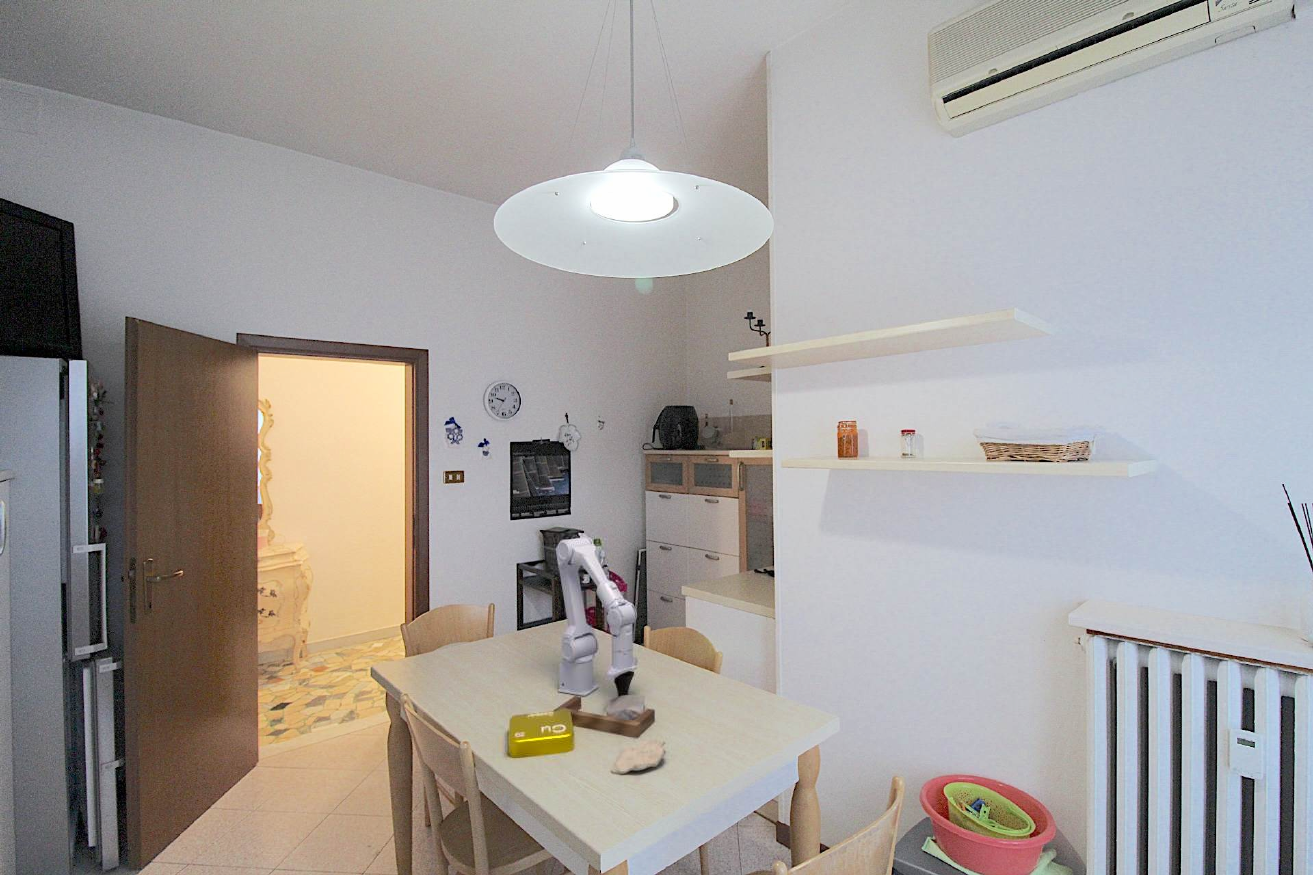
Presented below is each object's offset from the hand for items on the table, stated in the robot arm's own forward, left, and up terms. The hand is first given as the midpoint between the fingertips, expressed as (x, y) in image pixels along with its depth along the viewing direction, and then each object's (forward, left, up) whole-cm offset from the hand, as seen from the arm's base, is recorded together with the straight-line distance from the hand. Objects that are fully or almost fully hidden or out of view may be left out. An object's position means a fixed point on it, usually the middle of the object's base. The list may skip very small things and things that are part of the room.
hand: (622, 699), depth 170 cm
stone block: (+4, -6, -2) cm, 7 cm away
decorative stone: (+18, -26, -2) cm, 31 cm away
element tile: (-9, -26, -3) cm, 27 cm away
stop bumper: (0, -11, -2) cm, 11 cm away
